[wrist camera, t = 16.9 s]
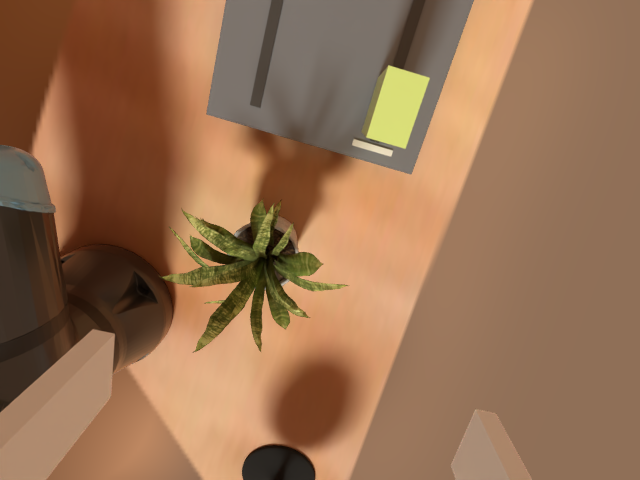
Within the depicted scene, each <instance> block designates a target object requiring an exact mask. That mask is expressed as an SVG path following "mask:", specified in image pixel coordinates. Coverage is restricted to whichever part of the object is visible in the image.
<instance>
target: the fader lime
mask: <svg viewBox="0 0 640 480" xmlns="http://www.w3.org/2000/svg"><path fill="white" fill-rule="evenodd" d="M429 79H430V78H429V77H426V76H422V75H419V74H416V73H412V72H409V71H406V70H402V69H399V68H396V67H392V66H389V65H388V67H387V68H386V69H385V70H384V71H383V72H382V73H381V75H380V76H379V77H378V79H377V83H376V86H375V89H374V92H373V96H372V99H371V102H370V106H369V109H368V112H367V115H366V119H365V122H364V125H363V129H362V133H363V134H364V135H365V137H367V138H370V139H374V140H377V141H380V142H384V143H387V144H390V145H394V146H397V147H401V148H404V149H406V146H407V143H408V140H409V137H410V134H411V131H412V128H413V125H414V123H415V120H416V117H417V114H418V111H419V108H420V105H421V102H422V99H423V97H424V94H425V91H426V88H427V85H428V82H429Z"/></svg>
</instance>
